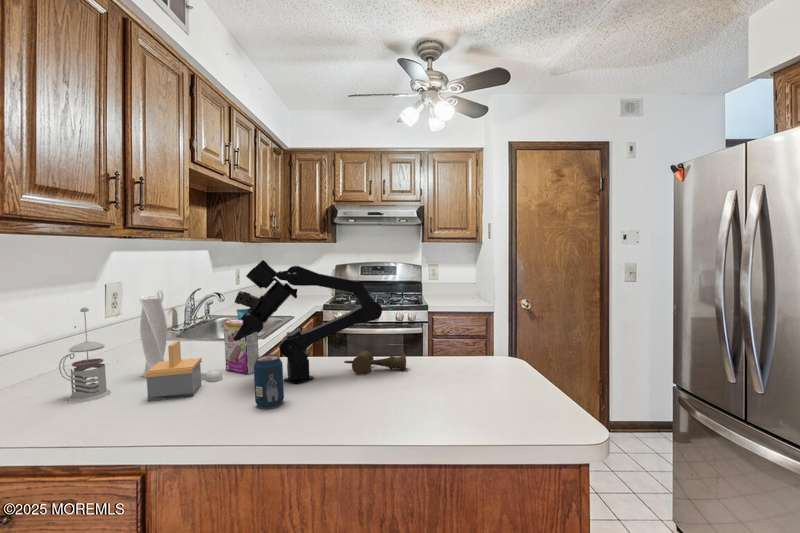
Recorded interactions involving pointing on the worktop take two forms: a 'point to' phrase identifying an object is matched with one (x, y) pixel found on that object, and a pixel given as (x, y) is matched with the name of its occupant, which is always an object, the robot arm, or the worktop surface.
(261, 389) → the soda can
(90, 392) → the french press
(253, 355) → the candy bar box
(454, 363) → the worktop surface
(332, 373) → the worktop surface
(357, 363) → the kendama
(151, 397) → the housing
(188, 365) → the lid
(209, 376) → the ball with square handle
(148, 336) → the skyscraper
